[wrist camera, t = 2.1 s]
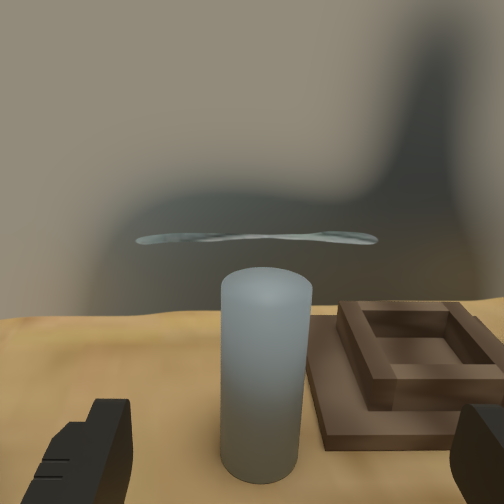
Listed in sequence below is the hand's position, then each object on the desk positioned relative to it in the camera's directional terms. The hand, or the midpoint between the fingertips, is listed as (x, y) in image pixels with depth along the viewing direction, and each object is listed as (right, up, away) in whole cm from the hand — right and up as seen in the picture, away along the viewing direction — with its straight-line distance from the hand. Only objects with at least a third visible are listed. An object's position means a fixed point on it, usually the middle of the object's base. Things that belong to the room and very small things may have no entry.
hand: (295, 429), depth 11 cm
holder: (+11, -5, +23) cm, 26 cm away
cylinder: (-1, -8, +16) cm, 18 cm away
